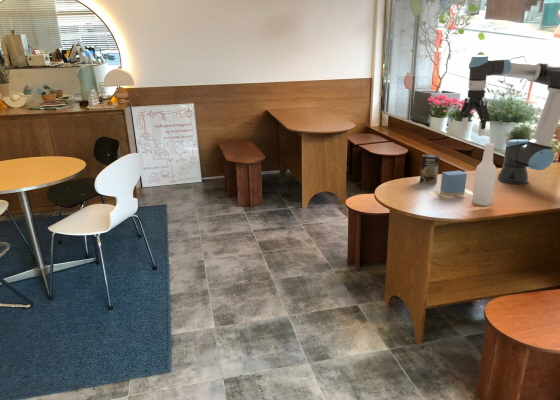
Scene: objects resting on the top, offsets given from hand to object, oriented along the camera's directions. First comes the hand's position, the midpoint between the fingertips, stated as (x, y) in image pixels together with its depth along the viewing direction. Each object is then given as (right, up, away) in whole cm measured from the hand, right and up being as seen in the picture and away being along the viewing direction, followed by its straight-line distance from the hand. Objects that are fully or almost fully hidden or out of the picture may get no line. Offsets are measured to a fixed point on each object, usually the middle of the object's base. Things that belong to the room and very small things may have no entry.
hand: (472, 132), depth 224 cm
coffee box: (-13, -24, +28) cm, 39 cm away
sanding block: (-7, -30, +7) cm, 32 cm away
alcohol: (+2, -36, -5) cm, 36 cm away
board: (-7, -31, +8) cm, 33 cm away
